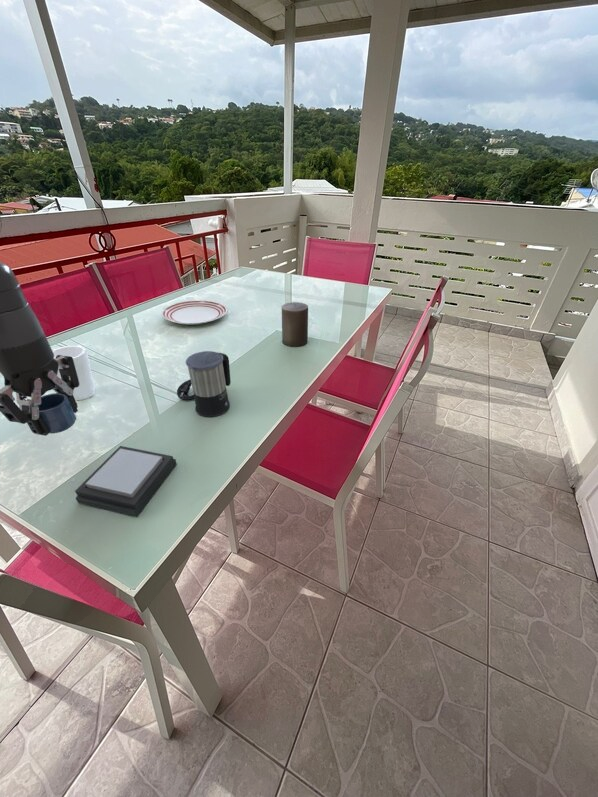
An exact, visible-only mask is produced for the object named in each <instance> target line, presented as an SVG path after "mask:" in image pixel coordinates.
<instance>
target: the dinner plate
mask: <svg viewBox="0 0 598 797" xmlns="http://www.w3.org/2000/svg"><path fill="white" fill-rule="evenodd" d="M227 313H228V308H227V307H226V305H224V304H223V303H220V302H217V301H213V300H205V299H204V300H203V299H193V300H192V299H191V300H183V301H178V302H175V303H173V304H170V305H167V306H166V307H164V309H162V311H161V316H162V318H163V319H164V320H166V321H169V322H172V323H174V324H180V325H187V326H196V325H204V324H207V323H211V322H214V321H216V320H219V319H220V318H223V317H224V316H226V314H227Z"/></svg>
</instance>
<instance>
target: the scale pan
mask: <svg viewBox="0 0 598 797" xmlns="http://www.w3.org/2000/svg"><path fill="white" fill-rule="evenodd" d="M162 462H163V459H162V457H161V456H156V455H151V454H146V453H141V452H135V451H130V450H125V449H119V450H118V451H117V452H116V453H115V454H114V455H113V457H112V458H111V459H110V460H109V461H108V462H107V463H106V464H105V465H104V466H103V467H102V468H101V469H100V470H99V471H98V472H97V473H96V474H95V475H94V476H93V477H92V478H91V479H90V480H89V481H88V482H87V483H86V486H87V487H88V488H89V489H94V490H98V491H102V492H107V493H111V494H115V495H120V496H124V497H129V498H134V496H135V495H136V494H137V493H138V491H139V490H140V489H141V488H142V486H143V485H144V484H145V483H146V482H147V480H148V479H149V478H150V477H151V475H152V474H153V473H154V472H155V470H156V469H157V468H158V467H159V465H160V464H161V463H162Z"/></svg>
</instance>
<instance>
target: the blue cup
mask: <svg viewBox="0 0 598 797" xmlns="http://www.w3.org/2000/svg"><path fill="white" fill-rule="evenodd" d="M29 411H30V409H29ZM39 416H40V417H42V419H43V420H44V422H45V424H46V426H47V428H48V429H49V431H50V433H49V434H59V433H62V432H64V431H67V430H68V429H69V428H72V427H73V426H74V424H75V423H76V421H77V413H75V412H74V410H73V408H72V406H71V404H70V402H69V399H68V397H67V396H66V395H65V394H61V393H56V392H54V393H48V394H44V395H42V396H41V405H40V406H39Z"/></svg>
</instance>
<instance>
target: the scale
mask: <svg viewBox="0 0 598 797" xmlns="http://www.w3.org/2000/svg"><path fill="white" fill-rule="evenodd" d="M119 449H125V450H130V451H135V452H141V453H146V454H151V455H156V456H161V457H162V459H163V462H162V463H161V464H160V465H159V467H158V468H157V469H156V470H155V472H154V473H153V474H152V475H151V477H150V478H149V479H148V480H147V482H146V483H145V484H144V485H143V486H142V488H141V489H140V490H139V491H138V493H137V494H136V495H135V496H134V498H129V497H124V496H120V495H115V494H111V493H107V492H102V491H98V490H94V489H89V488H88V487H87V486H86V483H87V482H88V481H89V480H90V479H91V478H92V477H93V476H94V475H95V474H96V473H97V472H98V471H99V470H100V469H101V468H102V467H103V466H104V465H105V464H106V463H107V462H108V461H109V460H110V459H111V458H112V457H113V455H114V454H115V453H116V452H117V451H118V450H119ZM177 465H178V463H177V458H174V456H173V455H169V454H164V453H160V452H155V451H154V452H153V451H148V450H143V449H139V448H133V447H128V446H123V445H119V446H118V448H117V449H115V450H114V452H113V453H112V454H110V455H109V456H108V457H107V458H106V459H105V460H104V461H103V463H101V464H100V465H99V466H98V467H97V468H96V469H95V470H94V471H93V472H92V473H91V474H90V475H89V476H88V477H87V478H86V480H84V481H83V482H82V484H80V485H79V486H78V487H77V488H76V489H75V490H74V492H75V494H76V497H75V500H76V502H77V504H80V505H83V506H88V507H93V508H96V509H101V510H105V511H109V512H114V513H117V514H121V515H126V516H129V517H135V518H138V517H139V515H140V514H141V513H142V511H143V510H144V509H145V507H146V506H147V504H149V502H150V501H151V499H152V498H153V497H154V495H155V494H156V493H157V492H158V490H159V489H160V487H161V486H162V485H163V483H164V482H165V481H166V479H167V478H168V477H169V475H171V473H172V471H173V470H174V469H175V468H176V466H177Z"/></svg>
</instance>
